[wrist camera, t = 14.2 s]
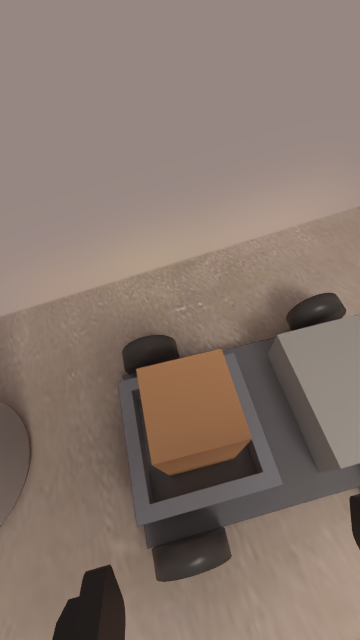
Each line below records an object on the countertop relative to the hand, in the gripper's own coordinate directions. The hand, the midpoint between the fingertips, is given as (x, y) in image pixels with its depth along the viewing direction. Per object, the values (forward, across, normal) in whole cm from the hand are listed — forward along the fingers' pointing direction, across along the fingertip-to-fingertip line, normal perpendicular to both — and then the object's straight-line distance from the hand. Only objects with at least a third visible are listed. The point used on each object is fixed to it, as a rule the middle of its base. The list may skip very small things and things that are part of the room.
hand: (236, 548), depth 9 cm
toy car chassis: (+15, -6, +6) cm, 17 cm away
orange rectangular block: (+14, 0, +5) cm, 15 cm away
